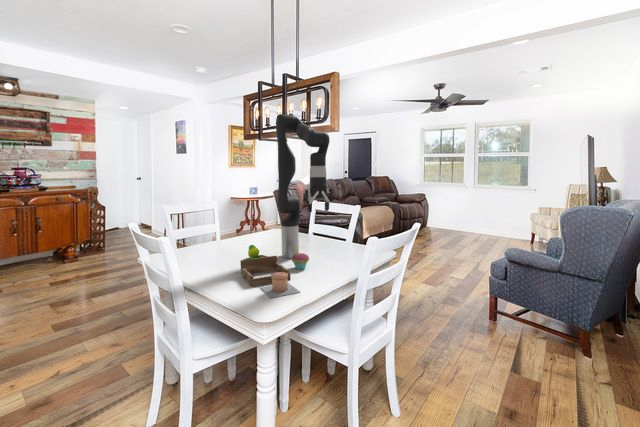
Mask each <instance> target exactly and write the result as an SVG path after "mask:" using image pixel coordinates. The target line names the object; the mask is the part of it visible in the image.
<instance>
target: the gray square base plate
mask: <svg viewBox="0 0 640 427" xmlns="http://www.w3.org/2000/svg"><path fill="white" fill-rule="evenodd" d="M287 283H288V290H287V291H285V292H274V291H272V285H269V286H267V285H266V286H262V287H260V289H261V291H262V292H264V293H265V295H267V296H268V297H269V298H270V299H274V298H279V297H284V296H290V295H296V294H300V293H301V291H300V290H298V289H297V288H296V287H294V285H292V284H291V283H290V282H287Z"/></svg>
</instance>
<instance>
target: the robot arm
mask: <svg viewBox="0 0 640 427" xmlns="http://www.w3.org/2000/svg"><path fill="white" fill-rule="evenodd" d="M275 119H276V120H275V132H276V140H277V173H278V176H277V177H278V183H277V184H278V188H277V190H278V191H277V209H278V211H279V213H280V214H283V215H284V214H287V216H286V217H285V218H283V219H282V220H281V222H280V223H281V224H280V227H281V231H280V232H281V257H282V258H285V259H291V257H292V256H293V255H295V254H298V253H297V247H296V243H297V245H298V251H299V252H300V250H299V249H300V247H299V246H300V245H299V244H300V243H299V242H300V240H299V235H300V234H299V221H300V211H301V208H300V207H301V205H300V200H299V197H298V196H297V195H288V193H289V187H290V185H291V182H292V180H293V178H294V176H295V174H296V171H297V170H296V169H297V168H296V157H295V155H294V152H293V151H292V149H291V147H290V146H289V144H288V142H287V138H286V136H287V135H286V134H296V136H297V137H298V138H299V139H300V140H302V141H304V142H305V144H306V146H308V147H310V148H318V150H317V151H316V152H312V153H311V154H310V156H309V158H310V160H309V164H310V165H309V166H310V168H309V187H310V188H309V189H306V188H305V189H303V194H302V200H303V201H302V202H303V203H305V204H306V206H307V208H306V209H307V211H308V213H312V212H313V204H312V203H313V202H314V200H316V199H322V200H323V202H324V211H325V212H328V211H329V210H330V203H331V202H334V196H333V195H334V192H333V188H329V187H328V188H327V168H326V167H327V164H326V162H327V160H326V158H327V153H328V149H329V145H330V136H329V134H328V133H327V131H320V130H318V131H317V130H315V128H313V127H311V126H309V125H307V124H305V122H303V121H302V120H300V119H299V118H298V116H295V115H293V114H284V113H282V114H280V113H279V114H278V115H277V116H276V118H275ZM309 194H310V195H309ZM326 194H327V195H326Z"/></svg>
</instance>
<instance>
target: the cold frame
mask: <svg viewBox="0 0 640 427" xmlns="http://www.w3.org/2000/svg"><path fill="white" fill-rule="evenodd" d="M263 272H264V273H269V272H275V273H277V272H285V273H287V274H288V278H287V282H288V281H291V273H290V269H288V268H287V267H285V266H284V265H282V264H280V263H279V262H278V256H277V255H270V256H268V257H261V258H254V259H247V260H243V259H240V276H241V275H242V276H241V277H242V278H243V279H244V280H245V281H246V282H247V283H248V285H249V286H251V287H252V288H253V287H258V286H264V285H270V284H271V285H272V278H271V275H267V276H260V277H255V278H254V276H253V275H255V274H256V275H257V274H262V273H263ZM264 273H263V274H264Z"/></svg>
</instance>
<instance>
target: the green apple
mask: <svg viewBox="0 0 640 427" xmlns="http://www.w3.org/2000/svg"><path fill="white" fill-rule="evenodd" d="M259 253H260V250H259V248H258V247H257V246H256V245H254V244H250V245H248V251H247V255H248V257H246V258H244V259H242V260H247V259H254V258H261V257H269V256H268V255H264V254H259Z"/></svg>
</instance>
